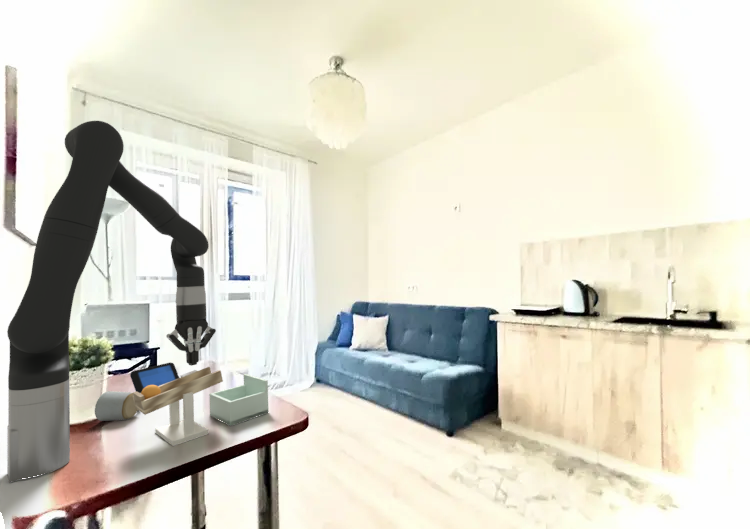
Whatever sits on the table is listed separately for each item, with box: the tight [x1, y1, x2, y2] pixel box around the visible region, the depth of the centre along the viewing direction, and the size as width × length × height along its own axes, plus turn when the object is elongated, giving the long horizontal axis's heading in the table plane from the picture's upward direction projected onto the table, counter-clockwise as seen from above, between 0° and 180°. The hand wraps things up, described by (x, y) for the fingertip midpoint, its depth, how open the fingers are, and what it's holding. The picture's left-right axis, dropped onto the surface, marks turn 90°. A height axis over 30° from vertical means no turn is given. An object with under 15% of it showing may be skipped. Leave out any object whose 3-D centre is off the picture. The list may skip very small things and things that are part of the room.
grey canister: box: [94, 390, 140, 422], centre depth 101 cm, size 11×8×8 cm
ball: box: [141, 385, 161, 400], centre depth 83 cm, size 4×4×4 cm
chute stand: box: [154, 392, 209, 447], centre depth 88 cm, size 8×12×10 cm, turn 48°
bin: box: [208, 373, 270, 427], centre depth 99 cm, size 11×12×9 cm
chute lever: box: [132, 366, 224, 416], centre depth 91 cm, size 18×16×4 cm
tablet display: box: [129, 362, 180, 393], centre depth 121 cm, size 16×13×9 cm
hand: (192, 364), depth 99 cm, fingers closed
